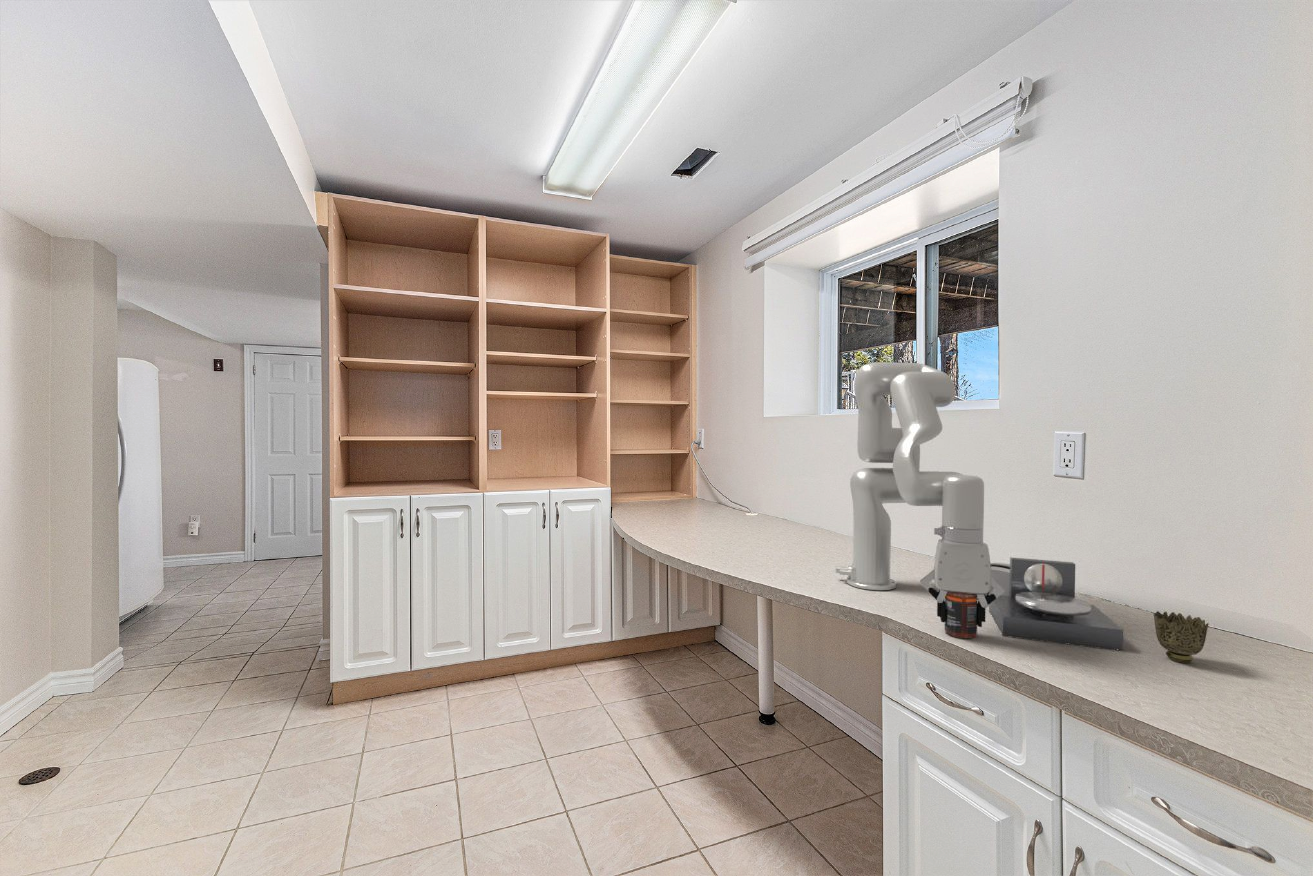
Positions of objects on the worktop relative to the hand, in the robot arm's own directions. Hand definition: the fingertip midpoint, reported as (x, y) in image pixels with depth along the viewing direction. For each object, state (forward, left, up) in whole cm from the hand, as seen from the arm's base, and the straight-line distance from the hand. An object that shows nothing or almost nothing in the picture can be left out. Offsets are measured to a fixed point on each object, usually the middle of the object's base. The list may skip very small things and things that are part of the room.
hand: (960, 621), depth 118 cm
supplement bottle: (0, 0, -3) cm, 3 cm away
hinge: (+15, +33, -3) cm, 36 cm away
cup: (+36, +1, -3) cm, 36 cm away
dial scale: (+18, +11, -3) cm, 21 cm away
